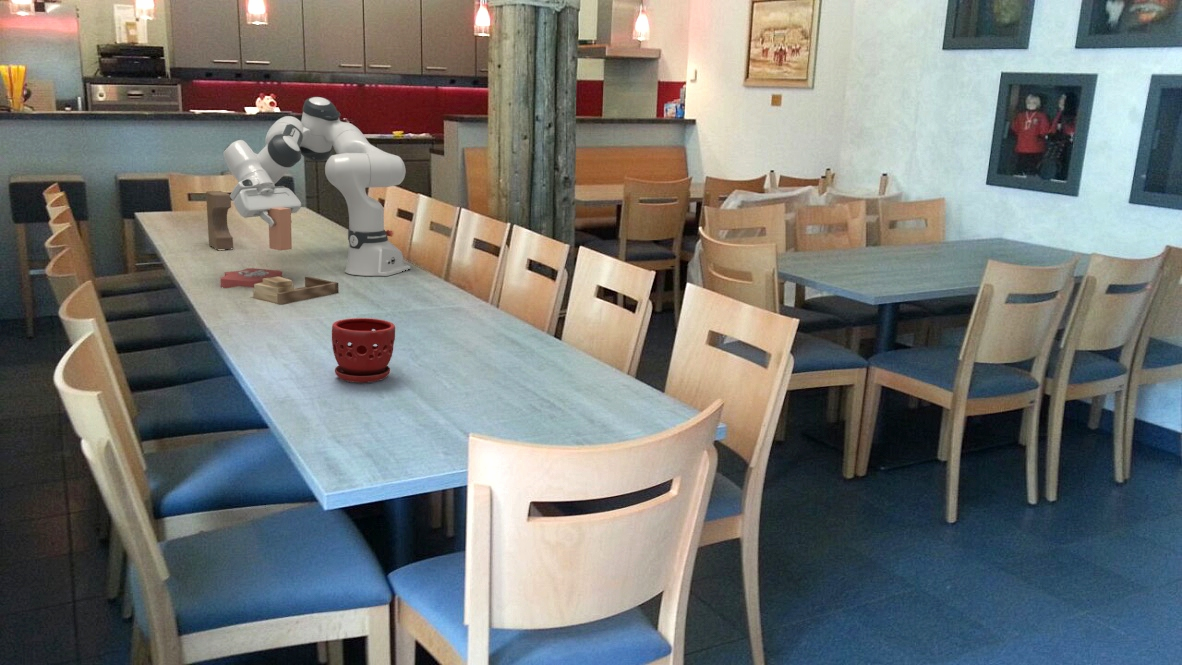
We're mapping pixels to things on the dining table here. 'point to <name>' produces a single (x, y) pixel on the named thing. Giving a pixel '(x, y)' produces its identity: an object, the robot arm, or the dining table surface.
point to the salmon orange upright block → (280, 229)
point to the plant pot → (362, 349)
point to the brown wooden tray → (307, 291)
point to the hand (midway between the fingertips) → (281, 224)
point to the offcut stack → (272, 288)
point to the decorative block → (218, 219)
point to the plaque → (247, 277)
